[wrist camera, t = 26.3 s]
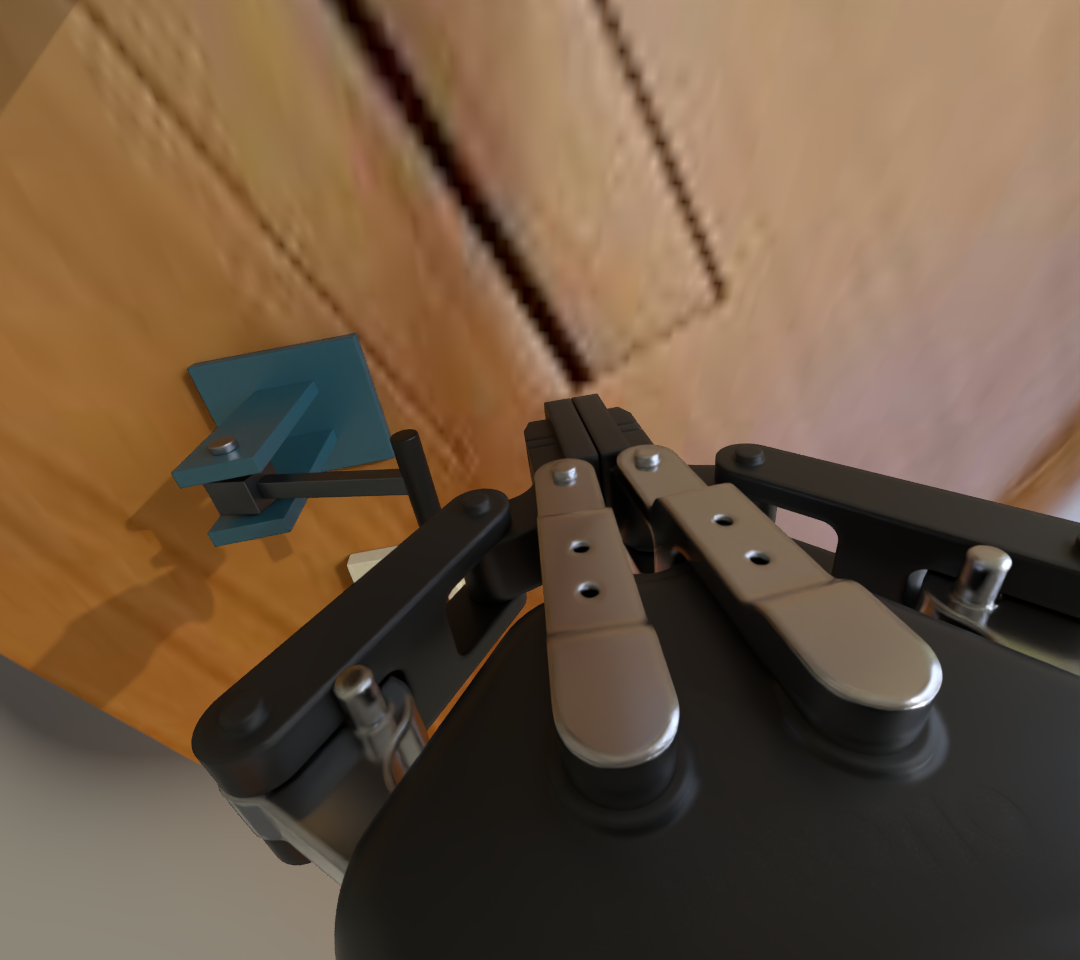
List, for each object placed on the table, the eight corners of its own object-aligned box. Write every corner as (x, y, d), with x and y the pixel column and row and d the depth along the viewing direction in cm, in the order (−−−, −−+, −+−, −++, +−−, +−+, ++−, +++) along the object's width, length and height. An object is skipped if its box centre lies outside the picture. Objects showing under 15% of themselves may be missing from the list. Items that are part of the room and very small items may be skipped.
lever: (425, 423, 27) (406, 445, 25) (450, 510, 30) (436, 536, 28) (218, 437, 30) (186, 457, 28) (258, 514, 33) (232, 538, 31)
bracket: (356, 332, 38) (307, 399, 26) (396, 451, 43) (370, 552, 31) (193, 363, 38) (68, 444, 26) (253, 479, 43) (171, 592, 31)
